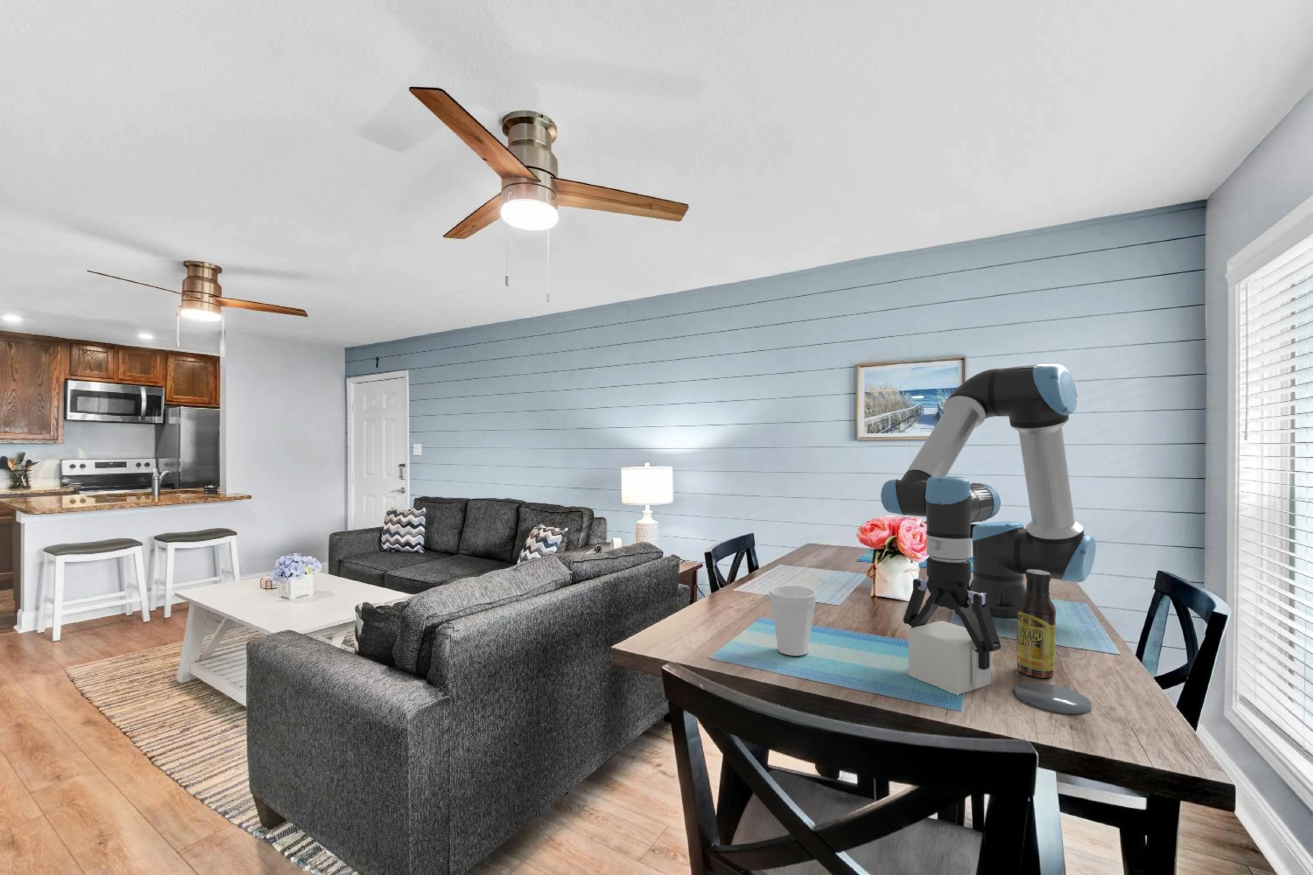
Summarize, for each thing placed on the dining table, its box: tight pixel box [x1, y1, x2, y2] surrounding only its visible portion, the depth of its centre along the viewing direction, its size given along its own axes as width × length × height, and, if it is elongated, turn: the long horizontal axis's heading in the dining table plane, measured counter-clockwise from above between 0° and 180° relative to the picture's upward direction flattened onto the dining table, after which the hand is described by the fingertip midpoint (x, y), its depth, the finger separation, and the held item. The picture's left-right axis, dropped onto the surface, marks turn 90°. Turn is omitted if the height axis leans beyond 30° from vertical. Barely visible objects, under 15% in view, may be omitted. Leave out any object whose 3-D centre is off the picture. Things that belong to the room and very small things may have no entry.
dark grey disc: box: [1014, 682, 1092, 715], centre depth 101 cm, size 11×11×1 cm
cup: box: [768, 584, 817, 657], centre depth 124 cm, size 10×10×13 cm
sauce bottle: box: [1015, 569, 1057, 679], centre depth 112 cm, size 7×6×20 cm
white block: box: [907, 620, 992, 696], centre depth 109 cm, size 10×10×9 cm
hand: (949, 673), depth 109 cm, fingers open, 11 cm apart
